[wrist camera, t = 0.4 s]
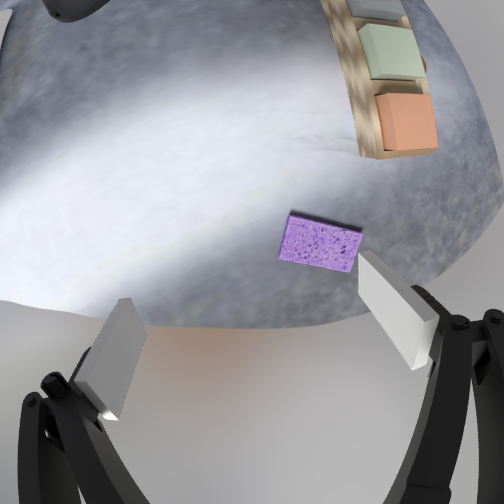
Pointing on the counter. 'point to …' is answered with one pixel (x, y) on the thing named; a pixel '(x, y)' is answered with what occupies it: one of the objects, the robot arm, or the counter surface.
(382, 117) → the terracotta key
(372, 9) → the grey key
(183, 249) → the counter surface
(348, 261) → the sponges
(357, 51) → the key panel
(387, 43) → the sage key
